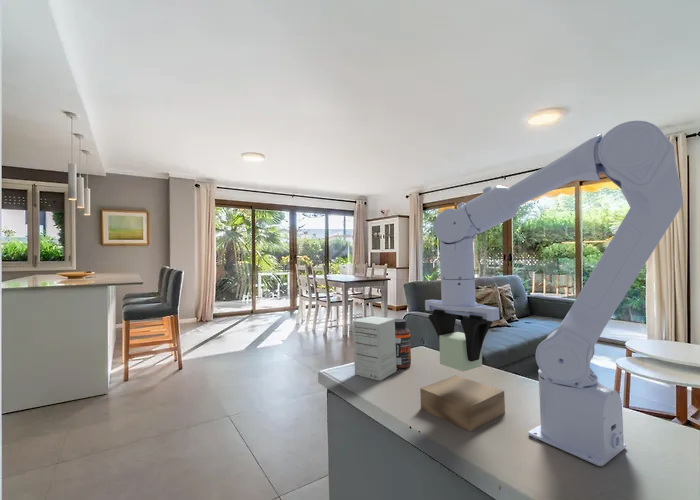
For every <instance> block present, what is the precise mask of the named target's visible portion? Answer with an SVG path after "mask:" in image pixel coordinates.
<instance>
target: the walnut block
mask: <svg viewBox="0 0 700 500" xmlns="http://www.w3.org/2000/svg"><path fill="white" fill-rule="evenodd" d="M419 394H420V395H419V396H420V410H423V411H426V412H428V413H430V414H432V415H433V416H436V417H438V418H440V419H442V420H444V421H446V422H448V423H451V424H453V425H456V426H457V427H459V428H461V429H464V430H466V431H468V432H471V431H473V430H474V431H475V429H477V428H480V427H481V426H483V425H485V424H487V423H488V422H490V421H492V420H493V419H495V418H497V417H499V416H501V415H503V414H505V413H506V403H505V401H506V399H505V398H506V397H505V390H503V389H500V388H497V387H493V386H490V385H487V384H484V383H481V382H478V381H475V380H472V379H468V378H465V377H462V376H459V375H453V376H449V377H447V378H444V379H442V380H440V381H436V382H433V383H431V384H430V383H429V384H428V385H426V386H423V387H420V393H419Z"/></svg>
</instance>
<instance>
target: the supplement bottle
mask: <svg viewBox="0 0 700 500" xmlns="http://www.w3.org/2000/svg"><path fill="white" fill-rule="evenodd" d="M394 319H395V342H396V368H397V369H407V368H409V367H411V364H412V354H411V353H412V351H411V349H412V348H411V331H410V328H408V327H407V320H406V319H402V318H394Z"/></svg>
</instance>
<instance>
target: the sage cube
mask: <svg viewBox="0 0 700 500" xmlns="http://www.w3.org/2000/svg"><path fill="white" fill-rule="evenodd" d="M438 340H439V341H438V342H439V364H440V365H442V366H445V367H449V368H452V369H454V370H457V371H460V372H466V371H469V370H473V369H476V368H480V367H483V349H482V348H483V347H482V348H481V352H480V357H479V360H476V361H473V362H471V361H468V357H467V348H466V338H465V334H464V332H461V331H456V332H455V331H454V333H450V334H445V335H440V336H439V338H438Z"/></svg>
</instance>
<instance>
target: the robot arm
mask: <svg viewBox="0 0 700 500" xmlns="http://www.w3.org/2000/svg"><path fill="white" fill-rule="evenodd" d="M675 153H676V152H675V146H674V144H673V143H672V142H671V141H670V139H668V137H667V136H666V135H665V133H664V132H663V131H662V130H661V128H660V127H658V126H657V125H656V124H654V123H651V122H650V121H649V122H648V121H645V120H630V121H626V122H623V123H620V124H618V125H616V126H614V127H612V128H611V129H609V130H608V131H607V132H606V133H605V134H604V135H603V134H602V133H600V134H598V135H595V136H593V137H591V138H589V139H587V140H586V141H584V142H583V143H581V144H580V145H578V146H576V147H575V148H573V149H571V150H570V151H568V152H567V153H565V154H563V155H562V156H559V157H558V158H556V159H555V160H553V161H551V162H550V163H548V164H546V165H545V166H543V167H541V168H539V169H538V170H537V171H535V172H533V173H531V174H529V175H528V176H527V177H525V178H523V179H521V180H520V181H518V182H516V183H514V184H513V185H512V186H509V187H506V186H503V185H496V186H494V187H492V186H486V187H484V188H483V189H482V192H483V193H481V194H480V195H478V196H476V197H474V198H472V199H471V200H469V201H467V202H463V201H462V202H460V203H459V204H457V209H456V208H446V209H443V210H442V211H441V212H440V213H438V215H437V216H436V218H435V219H434V222H433V232H434V235H435V236H436V238H437V239H438V240H439V264H440V265H439V267H440V269H439V270H440V290H441V292H440V293H441V295H440V296H441V299H426V300H424V308H425V311H427V312H430V311H433V312H432V313H430V314H428V319H429V321H430V323H431V325H432V326H433V328H434V330H435V333H436V335H437V338H438V339H439V336H440V335H445V334H450V333H455V327H456V326H455V325H456V322H457V321H456V320H457V316H458V315H459V316H464V317H467V318H463V319H460V324H461V326H462V330H463V333H464V334H465V338H466V348H467V357H468V361H471V362H473V361H476V360H479V357H480V352H481V348H483V343H484V340H485V338H486V336H487V334H488V332H489V329H491V326H492V324H493V322H495V321H499V320H500V308H499V307H495V306H491V305H485V304H482V303H478V302H477V301H476V300H477V299H476V279H475V278H476V277H475V257H474V256H475V253H474V239H476V237H477V235H478V234H481V233H483V232H487V231H488V230H490V229H493V228H494V227H496V226H498V225H500V224H502V223H504V222H506V221H509V220H510V219H513V218H515V217H516V216H517V214H518V210H519V209H520V207H521V205H523V204H526V203H528V202H529V201H532V200H534V199H536V198H539V197H540V196H543V195H545V194H547V193H549V192H552V191H554V190H556V189H558V188H560V187H563V186H565V185H567V184H569V183H572V182H573V181H590V182H591V181H593V182H599V181H601V179H600V174H604V176H605V177H606V178H607V179H608V180H609V181H611V182H612V183H613V184H615V186H617V187H619V188H620V191H621V193H622V195H623V196H624V198H625V200H626V202H627V204H628V206H629V209H628V211H627V213H626V214H625V216H624V218H623V219H622V221H621V222H620V225H619V226H618V227H617V230H615V233H614V234H613V237H612V238H611V240H610V242H609V243H608V244H607V247H605V250H604V252H603V253H602V255H601V256H600V258H599V260H598V261H597V264H596V265H595V267H594V268H593V270H592V272H591V273H590V275H589V277H588V279H587V280H586V282H585V284H584V286H583V287H582V288H581V290H580V292H579V294H578V295H577V296H576V299H575V300H574V302H573V303H572V305H571V307H570V309H569V310H568V312H567V313H566V315H565V317H564V318H563V320H562V321H561V323H560V325H559V326H557V327H555V328H553V329H552V330H551V331H550V332H549V333H548V335H547V337H546V338H545V339H544V340H542V341H541V342H540V343H538V345H537V347H536V350H535V362H536V364H537V367H538V370H537V372H538V392H539V417H540V418H539V419H540V424H539V425H537V426H536V427H534V428H531V429H530V430H528V431H527V434H528V435H529V436H530V437H532V438H534V439H537V440H539V441H542V442H543V443H546V444H548V445H550V446H552V447H555V448H557V449H559V450H561V451H564V452H566V453H568V454H571V455H573V456H575V457H577V458H579V459H581V460H585V461H586V462H589V463H591V464H594V465H596V466H598V467H603V466H604V465H606V464H607V463H608V462H610V461H611V460H612V459H613V458H614V457H616V456H617V455H618V454H620V452H622V451H623V450H625V449H626V448H627V444H626V443H625V441H624V424H623V423H624V422H623V421H624V419H623V405H622V399H621V396H620V394H619V392H618V391H617V390H615V389H612V388H609V387H607V386H605V385H603V384H602V383H600V382H599V381H598V376H597V375H596V374H595V372H594V371H593V370H592V369H591V365H590V364H591V361H592V360H593V358H594V355H595V345H596V344H597V342H598V340H599V339H600V337H601V335H602V333H603V331H604V329H605V328H606V326H607V324H608V323H609V322H610V320H611V318H612V317H613V316H614V313H615V312H616V310H617V309H618V307H619V306H620V304H621V302H622V301H623V299H624V298H625V297H626V295H627V294H628V292H629V290H630V289H631V287H632V286H633V283H634V282H635V281H636V279H637V277H638V276H639V274H640V273H641V272H642V270H643V268H644V267H645V265H646V264H647V262H648V261H649V259H650V257H651V255H652V254H653V252H654V251H655V249H656V247H657V246H658V244H659V243H660V241H661V240H662V238H663V237H664V235H665V233H666V232H667V231H668V229H669V227H670V226H671V224H672V222H673V221H674V220H675V218H676V216H678V215H677V214H679V212H680V209H681V208H682V206H683V203H684V200H683V199H684V198H683V193H682V188H681V183H680V178H679V177H680V176H679V174H678V173H679V172H678V169H677V163H676V155H675Z"/></svg>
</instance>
